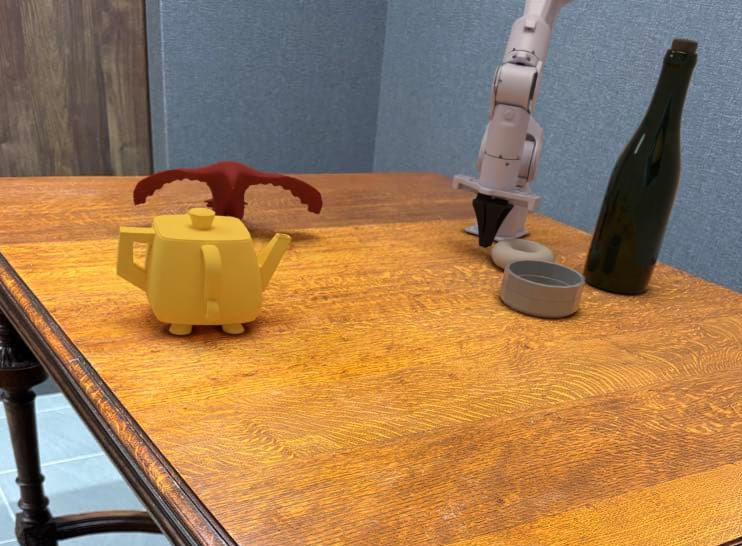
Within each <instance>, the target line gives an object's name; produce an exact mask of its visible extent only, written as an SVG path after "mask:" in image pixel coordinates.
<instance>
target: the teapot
mask: <svg viewBox="0 0 742 546" xmlns="http://www.w3.org/2000/svg"><path fill="white" fill-rule="evenodd" d="M118 230H119V231H118V239H117V240H118V242H117V253H116V265H115V271H116V276H118V277H120V278H121V279H123V280H125V281H127V282H128V283H129V284H131V285H133V286H134V287H137V288H138V289H140V290H142V291H143V292H145V296H146V298H147V301H148V304H149V305H150V308H151V310H152V312H153V314H154V316H155V318H156V320H158V321H160V322H162V323H166V324H170V327H169V329H168V331H169V332H170V333H171V334H173V335H178V336H181V335H182V336H184V335H189V334H191V333H192V330H193V326H221V328H222V331H223V332H225V333H227V334H230V335H231V334H232V335H233V334H234V335H237V334H242V333H244V332H245V328H244V326H243V325H242V324H243V323H245V324H246V323H249V322H250V323H251V322H254V321H255V320H256V319H257V317H258V316H259V313H260V311H261V309H262V306H263V293H264V292H265V291H266V289H267V287H268V285H269V284H270V282H271V279H273V278H272V277H273V276H274V274H275V272H276V270H277V269H278V266H279V264H280V263H281V260H282V259H283V257H284V256H285V253H286V251H287V249H288V247H289V245H290V243H291V241H292V237H291V236H290V235H289V234H285V233H281V232H275V235H274V236H273V237H272V239H271V240H270V241H269V242H268V243H267V244H266V245H265V247H264V248H263V249H262V250H261V251H260V252H259V254H258V255H257V254H256V250H255V249H256V248H255V246H254V241H253V239H252V235H251V234H250V232H249V230H248V229H247V227H246V225H245V224H244V222H243V221H242V220H239V219H238V218H235V217H231V216H227V217H226V216H215V212H214V211H212V209H210V208H208V207H207V208H206V207H193V208H190V209H188V211H187V212H185V213H183V214H161V215H156V216H155V217H154V218H153V220H152V223H151V226H150V227H139V226H137V227H136V226H134V227H133V226H119V229H118ZM134 243H141V244H146V247H145V255H144V265H143V266H141V265H140V264H137V263H136V262H134Z"/></svg>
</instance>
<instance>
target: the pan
mask: <svg viewBox="0 0 742 546" xmlns="http://www.w3.org/2000/svg"><path fill="white" fill-rule="evenodd" d="M503 270H504V269H503ZM585 284H586V280H585V277H584V276H583V274H582V273H581V272H580V271H578V270H576V269H573V268H572V267H569V266H567V265H563V264H560V263H557V262H555V261H554V262H549V261H543V260H534V259H519V260H513V261H510V262H508V263H506V266H505V270H504V271H503V274H502V280H501V284H500V290H499V293H498V296H499V298H501V300H502V301H503V303H504V304H505V305H506V306H507V307H509V308H510V309H513V310H514V311H517V312H519V313H523V314H525V315H528V316H534V317H538V318H548V319H557V318H559V319H560V318H566V317H568V316H570V315H572V314H574V313H575V312H578V309H579V305H580V303H581V298H582V295H583V291H584V288H585Z"/></svg>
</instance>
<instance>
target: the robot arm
mask: <svg viewBox="0 0 742 546" xmlns="http://www.w3.org/2000/svg"><path fill="white" fill-rule="evenodd" d="M574 1H575V0H525V3H524V9H523V16H520V17H519V18H517V19H516V20H515V21H514V22H513V23H512V26H511V29H510V33H509V36H508V40H507V44H506V48H505V52H504V55H503V58H502V59H503V60H502V61H501V62H502V63H501V65H497V66H496V69H495V72H494V75H493V78H492V84H491V90H490V107H489V113H488V120H489V121H488V122H487V123H488V124H486V127H485V130H484V135H483V137H482V139H481V143H480V147H479V152H478V156H477V164H476V165H477V166H476V168H477V170H478V172H479V177H476V176H470V175H465V174H462V173H459V174H458V173H457V174H455V175H453V179H452V185H451V189H454V190H461V191H465V192H468V193H472V194H475V195H476V196H475V198H473V199H472V201H471V202H472V203H471V204H472V208H473V211H474V214H475V218H476V219H475V224H473V225H470V226H468V227H465V228H464V232H466V233H470V234H473V235H476V236H478V246H479V247H481V248H483V249H484V248H485V249H488V248H490V247H492V246H493V243H494V241H495V242H497V243H498V242H499V241H502V240H505V239H520V238H521V237H523V236H527V235H529V231H528V230H526V229H525V226H526V223H527V218H528V213H529V211H530V212H535V211H538V210H539V209H540V204H541V199H542V196H541V195H537V194H534V193H532V190H531V187H530V184H529V183H532V182H533V181H534V180H536V177H537V174H538V170H539V165H540V162H541V157H542V152H543V144H544V139H545V134H544V130H543V129H542V127H541V126H540V125H539V123H538V122H537V121H536V120H535V118H534V117H533V114H534V111H535V107H536V104H537V101H538V98H539V93H540V89H541V84H542V77H543V72H544V68H545V64H546V60H547V55H548V52H549V47H550V43H551V38H552V35H553V29H554V26H555V23H556V21H557V18H558V16H559V14H560V12H561V10H562V9H563V7H564V6H566V5H569V4H571V3H574Z"/></svg>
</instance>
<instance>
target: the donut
mask: <svg viewBox="0 0 742 546" xmlns="http://www.w3.org/2000/svg"><path fill="white" fill-rule="evenodd" d="M490 253H491V254H490V255H491V259H492V261H493V263H494V264H495V266H497V267H498V268H500V269H501V270H505V266H506V263H508V262H510V261H513V260H519V259H534V260H543V261H549V262H554V263H555V262H556V261H555V260H556V258H555V254H554V253H553V251H552V250H551V248H549V247H548V246H546V245H544V244H543V243H540V242H537V241H534V240H529V239H524V238H516V239H505V240H502V241H499V242H498V241H497V242H496V243H495V245H494V246H493V247H492V249H491V251H490Z"/></svg>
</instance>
